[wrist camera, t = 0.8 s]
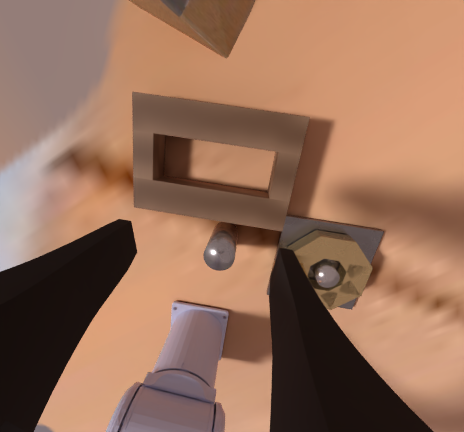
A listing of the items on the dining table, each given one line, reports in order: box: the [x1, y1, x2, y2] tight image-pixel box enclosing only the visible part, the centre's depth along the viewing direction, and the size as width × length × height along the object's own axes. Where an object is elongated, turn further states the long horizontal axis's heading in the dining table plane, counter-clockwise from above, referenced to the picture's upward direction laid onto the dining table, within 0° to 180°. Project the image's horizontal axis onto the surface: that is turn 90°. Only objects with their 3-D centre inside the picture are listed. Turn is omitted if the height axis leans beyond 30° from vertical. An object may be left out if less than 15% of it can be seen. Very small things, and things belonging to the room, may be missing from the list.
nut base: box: [267, 215, 384, 309], centre depth 24 cm, size 12×11×5 cm
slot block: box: [132, 92, 310, 231], centre depth 22 cm, size 11×16×3 cm
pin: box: [204, 222, 238, 271], centre depth 23 cm, size 3×3×6 cm
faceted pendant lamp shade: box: [273, 230, 373, 310], centre depth 24 cm, size 9×10×4 cm
